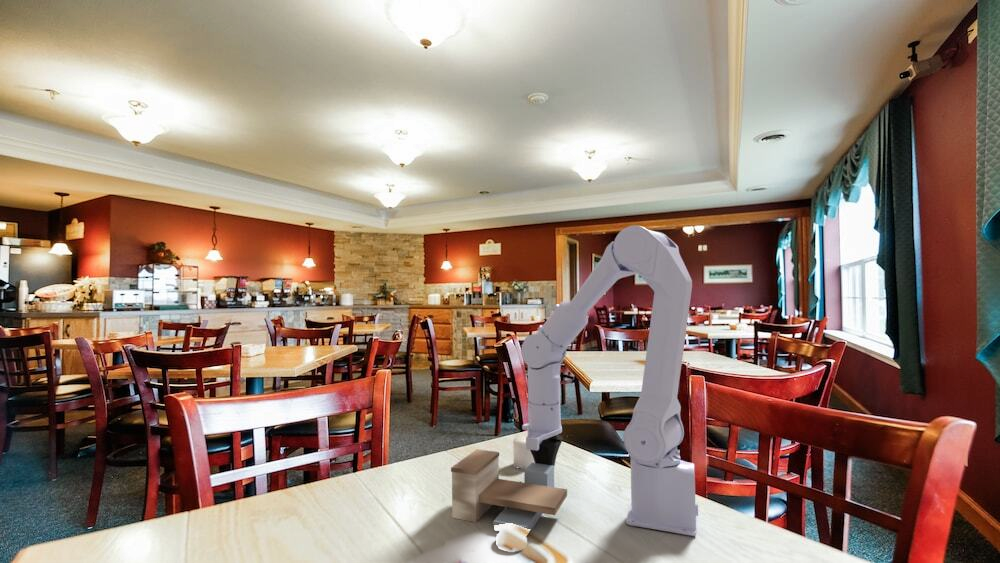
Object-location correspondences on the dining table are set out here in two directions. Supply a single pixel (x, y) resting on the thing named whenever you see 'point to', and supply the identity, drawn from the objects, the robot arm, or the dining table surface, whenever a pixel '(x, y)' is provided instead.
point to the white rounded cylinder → (521, 453)
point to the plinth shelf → (496, 489)
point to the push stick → (524, 518)
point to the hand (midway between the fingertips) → (545, 479)
